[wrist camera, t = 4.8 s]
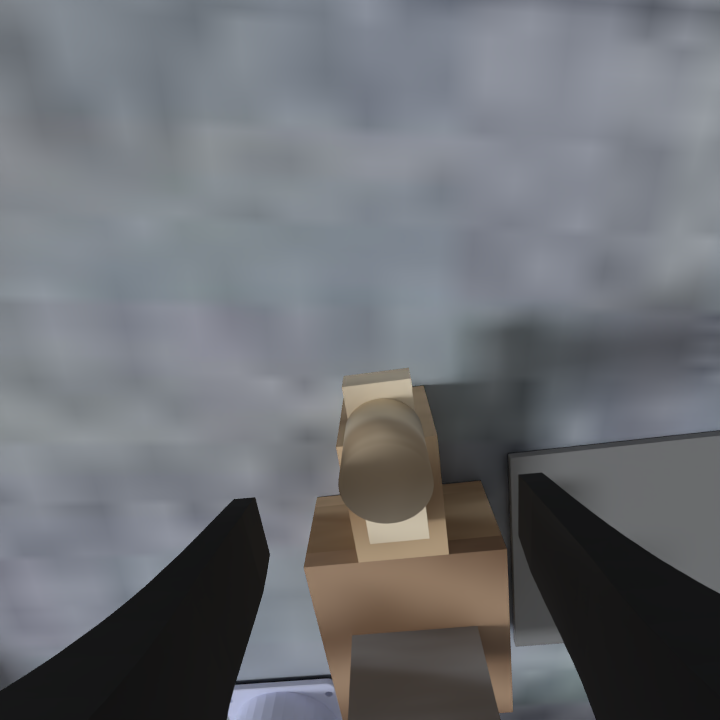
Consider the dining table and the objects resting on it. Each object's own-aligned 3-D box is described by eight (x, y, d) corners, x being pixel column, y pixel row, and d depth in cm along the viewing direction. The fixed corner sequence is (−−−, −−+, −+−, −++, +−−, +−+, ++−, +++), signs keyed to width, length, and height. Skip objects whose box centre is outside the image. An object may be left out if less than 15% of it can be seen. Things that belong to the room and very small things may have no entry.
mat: (711, 625, 26) (716, 632, 25) (513, 640, 27) (515, 646, 26) (750, 427, 21) (757, 431, 21) (507, 453, 22) (510, 458, 22)
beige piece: (431, 520, 18) (447, 605, 14) (365, 526, 18) (363, 612, 14) (414, 367, 15) (427, 420, 12) (338, 377, 16) (327, 432, 12)
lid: (502, 675, 24) (541, 816, 18) (345, 686, 24) (337, 825, 19) (495, 520, 20) (541, 639, 14) (309, 537, 21) (286, 657, 15)
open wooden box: (489, 625, 26) (512, 712, 22) (348, 636, 27) (343, 722, 23) (474, 379, 21) (502, 428, 16) (295, 401, 21) (274, 454, 17)
